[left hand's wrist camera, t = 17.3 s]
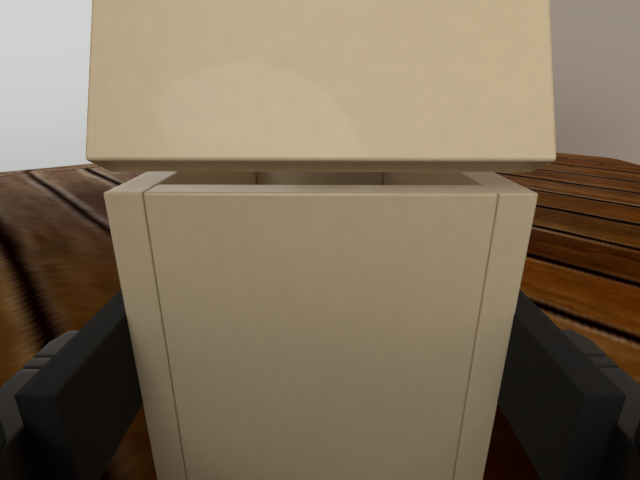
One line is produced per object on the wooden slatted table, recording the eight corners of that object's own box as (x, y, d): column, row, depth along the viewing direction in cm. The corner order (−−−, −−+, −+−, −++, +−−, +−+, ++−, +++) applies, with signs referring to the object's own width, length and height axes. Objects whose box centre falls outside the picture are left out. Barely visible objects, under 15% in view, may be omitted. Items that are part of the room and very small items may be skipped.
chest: (251, 289, 28) (241, 126, 25) (387, 289, 28) (398, 126, 25) (167, 538, 13) (102, 192, 9) (471, 538, 13) (539, 193, 9)
